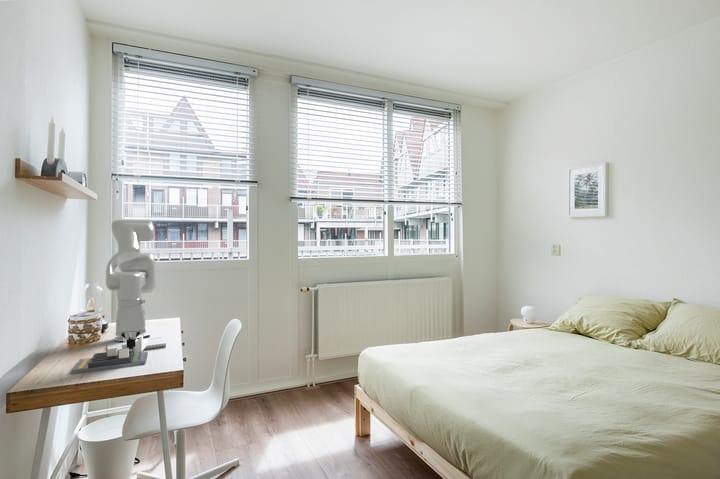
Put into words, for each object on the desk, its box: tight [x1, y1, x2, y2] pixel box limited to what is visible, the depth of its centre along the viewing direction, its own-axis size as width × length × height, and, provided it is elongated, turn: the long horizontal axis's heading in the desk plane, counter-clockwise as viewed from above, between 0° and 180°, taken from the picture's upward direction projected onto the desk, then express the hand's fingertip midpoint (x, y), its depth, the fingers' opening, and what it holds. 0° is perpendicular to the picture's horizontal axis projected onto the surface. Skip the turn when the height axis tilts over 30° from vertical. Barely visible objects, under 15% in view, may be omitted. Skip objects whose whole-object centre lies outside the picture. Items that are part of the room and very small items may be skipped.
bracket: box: [122, 335, 149, 353], centre depth 176 cm, size 13×7×8 cm, turn 17°
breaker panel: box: [71, 349, 149, 374], centre depth 157 cm, size 15×24×3 cm, turn 115°
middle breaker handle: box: [106, 346, 119, 357], centre depth 157 cm, size 3×3×5 cm
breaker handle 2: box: [118, 348, 129, 359], centre depth 155 cm, size 3×3×5 cm
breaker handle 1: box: [121, 342, 132, 351], centre depth 164 cm, size 3×3×5 cm
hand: (131, 348), depth 160 cm, fingers closed
